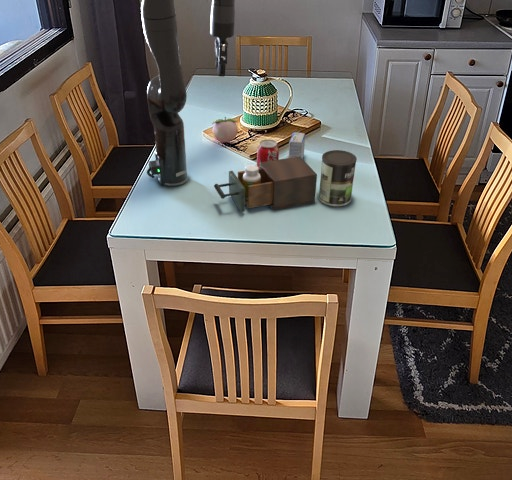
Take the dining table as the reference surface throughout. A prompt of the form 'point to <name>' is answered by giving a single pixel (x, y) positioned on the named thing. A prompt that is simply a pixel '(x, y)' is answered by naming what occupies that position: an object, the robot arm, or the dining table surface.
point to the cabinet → (290, 182)
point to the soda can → (267, 151)
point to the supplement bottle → (250, 177)
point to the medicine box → (297, 145)
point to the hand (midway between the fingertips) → (220, 71)
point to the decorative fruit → (225, 129)
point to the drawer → (256, 193)
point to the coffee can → (337, 177)
